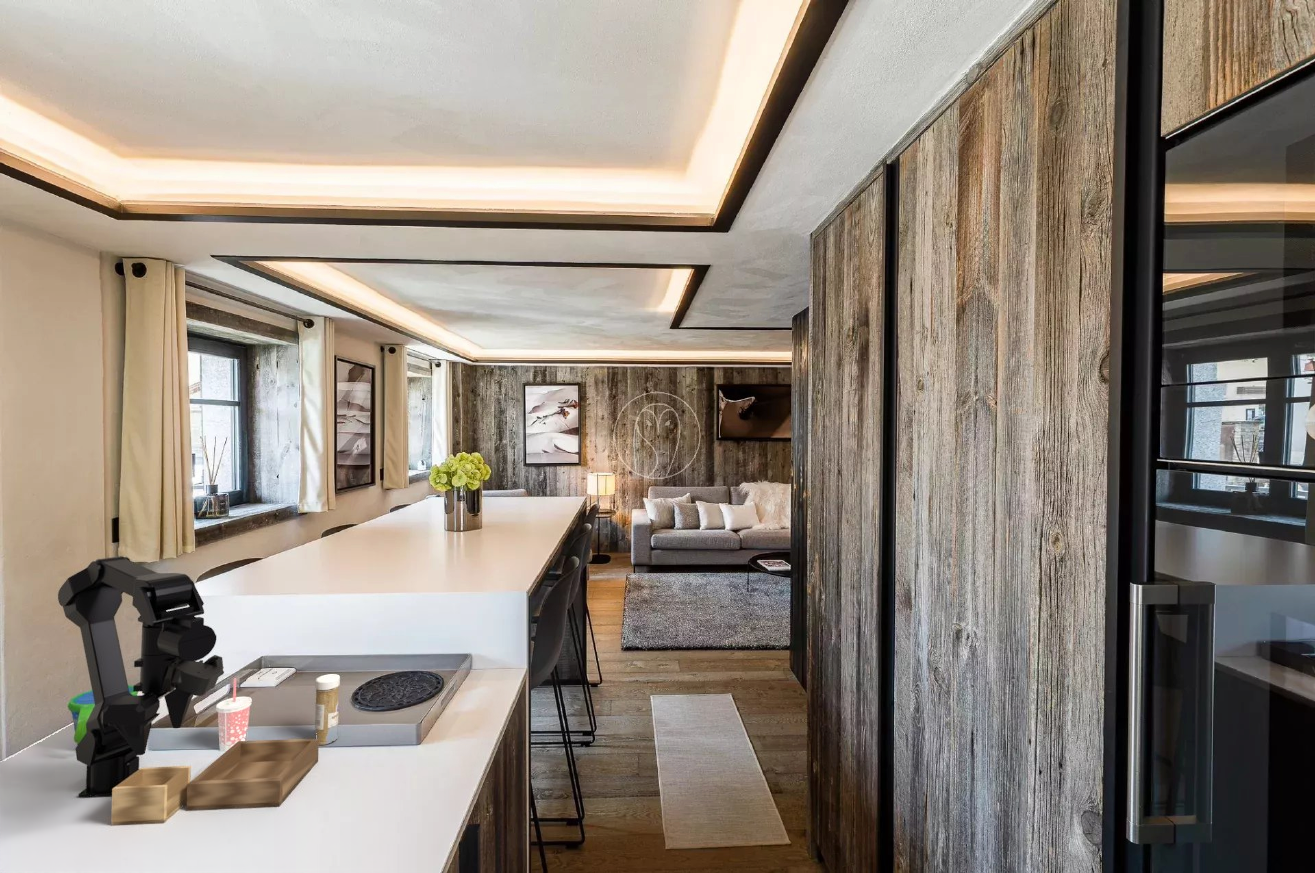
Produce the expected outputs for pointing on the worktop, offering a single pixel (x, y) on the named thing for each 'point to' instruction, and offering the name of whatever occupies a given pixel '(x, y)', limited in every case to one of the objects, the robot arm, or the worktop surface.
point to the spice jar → (326, 705)
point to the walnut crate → (253, 774)
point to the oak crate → (150, 795)
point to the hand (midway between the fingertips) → (159, 740)
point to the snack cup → (84, 711)
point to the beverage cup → (233, 719)
